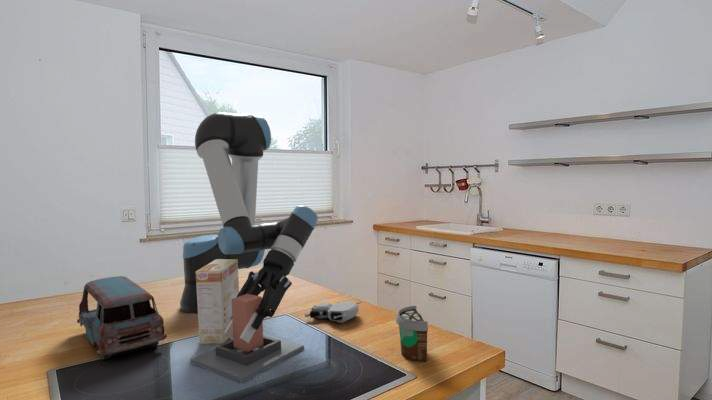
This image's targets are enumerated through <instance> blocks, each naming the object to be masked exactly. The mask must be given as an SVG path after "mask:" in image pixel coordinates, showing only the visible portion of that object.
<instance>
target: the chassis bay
mask: <svg viewBox="0 0 712 400" xmlns="http://www.w3.org/2000/svg"><path fill="white" fill-rule="evenodd" d="M304 349H305V345H304V344H302V343H299V342H294V341H291V340H287V339H284V338H281V337H276V336H273V335H270V334H266V333H263V345H261V346H259V347H257V348H255V349H253V350H251V351H249V352H246V351H243V350H240V349H237V348H234V345H233V339H230V340H228V341H226V342H225V343H223V344H218V345H216V346H214V348H212V349H210V350H207V351H205V352H202V353H200V354H198V355H196V356H194V357H191V358H190V360H189V362H190V364H193V365H195V366H197V367H201V368H202V369H205V370H208V371H211V372H213V373H216V374H217V375H220V376H224V377H227V378H229V379H232V380H233V381H236V382H239V383H242V384H243V383H244V382H246V381H248V380H249V379H252V378H253V377H256V376H257V375H259V374H261V373H263V372H265V371H266V370H268V369H270V368H272V367H273V366H275V365H277V364H279V363H281V362H283V361H285V360H287V359H288V358H290V357H292V356H293V355H296V354H297V353H299V352H301V351H303V350H304Z"/></svg>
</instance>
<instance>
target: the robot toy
mask: <svg viewBox="0 0 712 400" xmlns="http://www.w3.org/2000/svg"><path fill="white" fill-rule="evenodd" d="M359 304H362V301H358V302H355V301H340V302H337V303H334V304H332V303H330V302H320V303H318V304H314V306H312V307H311V309H310V311H309V312H305V313H304V317H305V318H308V317H310V319H312V318H314V319H315V318H317V319H321V320H323V319H327V318H328V319H329V321H333V322H337V323H338V324H342V323H343V324H344V323H345V322H347V321H348V320H351V319H353V318H354V317H356V316H357V315H358V313H359Z"/></svg>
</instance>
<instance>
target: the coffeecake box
mask: <svg viewBox="0 0 712 400" xmlns="http://www.w3.org/2000/svg"><path fill="white" fill-rule="evenodd" d="M195 273H196V288H197V306H198V313H197V322H198V323H197V324H198V339H199V341H198V344H200V345H208V344H209V345H210V344H213V345H215V344H216V345H217V344H218V345H221V344H223V343H226V342H227V340H228V339H230V337H228V336H227V335H226V334H224V331H225V329H226V328H227V326H228V324H229V323H230V319H231V317H232V300H231V299H233V298H236V297H237V295H238V293H239V292H240V282H239V269H238V259H216V260H214V261H212V262H211V263H209V264H208V265H206V266H204V267H203V268H201V269H199V270H198V271H196V272H195Z"/></svg>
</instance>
